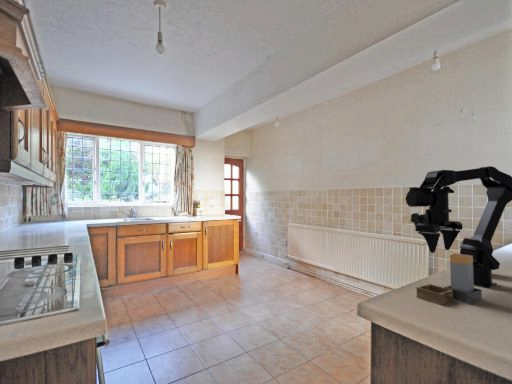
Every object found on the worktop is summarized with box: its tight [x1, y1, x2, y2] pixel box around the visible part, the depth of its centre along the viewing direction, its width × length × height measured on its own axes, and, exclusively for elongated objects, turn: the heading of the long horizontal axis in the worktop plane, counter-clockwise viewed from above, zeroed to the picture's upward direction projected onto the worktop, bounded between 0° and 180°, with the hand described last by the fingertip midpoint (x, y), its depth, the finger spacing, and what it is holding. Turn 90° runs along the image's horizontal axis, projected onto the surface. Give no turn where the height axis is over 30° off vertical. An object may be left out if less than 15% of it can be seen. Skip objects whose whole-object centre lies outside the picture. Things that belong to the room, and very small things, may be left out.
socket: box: [443, 284, 483, 305], centre depth 82 cm, size 7×7×3 cm
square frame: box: [416, 283, 455, 306], centre depth 82 cm, size 7×7×3 cm
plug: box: [449, 252, 475, 293], centre depth 82 cm, size 4×4×13 cm
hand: (439, 251), depth 93 cm, fingers open, 9 cm apart
